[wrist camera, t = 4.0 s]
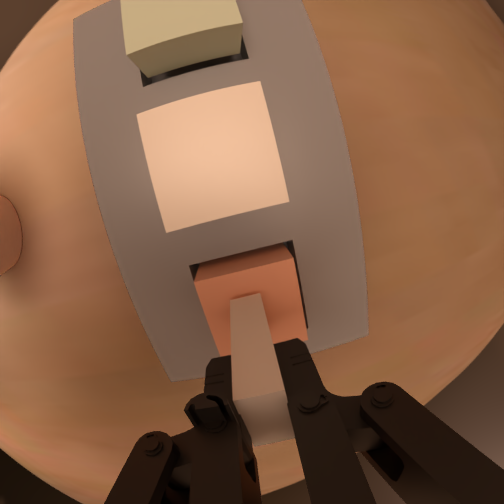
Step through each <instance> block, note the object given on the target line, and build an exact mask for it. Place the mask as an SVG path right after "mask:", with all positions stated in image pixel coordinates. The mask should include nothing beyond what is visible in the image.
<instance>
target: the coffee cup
mask: <svg viewBox="0 0 504 504" xmlns="http://www.w3.org/2000/svg"><path fill="white" fill-rule="evenodd" d="M21 249H22V231H21V225H20V221H19V217H18V215H17V212H16V210H15V208H14V206H13V205H12V203H11V202H10V201H9V200H8V199H7V198H5V197H4V196H1V195H0V276H1V275H2V274H3V273H5V272H6V271H7V270H9V269H10V268H11V267H13V266H14V265H15V264H16V263H17V261H18V259H19V257H20V254H21Z"/></svg>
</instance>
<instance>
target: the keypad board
mask: <svg viewBox="0 0 504 504" xmlns="http://www.w3.org/2000/svg"><path fill="white" fill-rule="evenodd" d="M236 3H237V6H238V9H239V12H240V15H241V18H242V21H243V27H242V38H241V49H240V54H234V55H229V56H224V57H220V58H215V59H211V60H207V61H203V62H199V63H195V64H191V65H187V66H184V67H180V68H177V69H174V70H171V71H167V72H164V73H161V74H158V75H155V76H152V77H150V78H148V77H147V76H146V75H145V74H144V73H143V72H142V71H141V70H140V69H139V68H138V67H137V66H136V65H135V64H134V63H133V62H132V60H131V59H130V58H129V57H128V56H127V55H126V50H125V42H124V34H123V25H122V14H121V2H120V0H111V1H109V2H106V3H104V4H102V5H100V6H98V7H96V8H94V9H92V10H90V11H88V12H86V13H84V14H82V15H80V16H78V17H76V18H75V19H73V45H74V67H75V80H76V90H77V99H78V107H79V115H80V121H81V128H82V134H83V139H84V145H85V150H86V155H87V160H88V164H89V169H90V173H91V177H92V181H93V186H94V189H95V193H96V197H97V201H98V205H99V208H100V212H101V215H102V218H103V222H104V225H105V228H106V232H107V235H108V238H109V241H110V244H111V247H112V250H113V253H114V256H115V258H116V261H117V264H118V267H119V269H120V272H121V275H122V277H123V280H124V283H125V285H126V288H127V290H128V293H129V295H130V298H131V300H132V302H133V305H134V307H135V309H136V312H137V314H138V316H139V319H140V321H141V323H142V325H143V327H144V330H145V332H146V334H147V336H148V338H149V340H150V342H151V344H152V346H153V348H154V350H155V352H156V354H157V356H158V358H159V360H160V362H161V364H162V366H163V368H164V370H165V372H166V374H167V375H168V377H169V379H170V381H171V382H177V381H184V380H191V379H198V378H204V377H205V373H206V367H207V365H208V363H209V362H210V360H211V359H212V358H217V357H220V354H219V351H218V349H217V346H216V344H215V341H214V338H213V336H212V333H211V330H210V327H209V325H208V322H207V319H206V316H205V314H204V311H203V308H202V305H201V302H200V299H199V296H198V293H197V291H196V288H195V285H194V280H195V277H196V274H197V271H198V268H199V264H200V263H201V262H205V261H209V260H213V259H217V258H221V257H225V256H229V255H233V254H237V253H241V252H245V251H249V250H253V249H257V248H261V247H265V246H269V245H273V244H277V243H281V242H283V243H284V245H285V246H286V248H287V249H288V251H289V252H290V253H291V255H292V256H293V258H294V263H295V268H296V273H297V278H298V284H299V289H300V295H301V300H302V306H303V312H304V318H305V323H306V329H307V336H308V340H306V341H303V342H304V343H306V345H307V348H308V350H309V353H310V354H312V353H315V352H318V351H322V350H325V349H328V348H332V347H335V346H338V345H341V344H344V343H347V342H350V341H353V340H356V339H359V338H362V337H365V336H368V335H369V332H368V300H367V282H366V269H365V257H364V247H363V238H362V229H361V221H360V214H359V207H358V200H357V194H356V188H355V182H354V176H353V171H352V166H351V161H350V156H349V151H348V146H347V142H346V137H345V133H344V128H343V124H342V120H341V116H340V112H339V108H338V105H337V101H336V97H335V94H334V90H333V87H332V83H331V80H330V77H329V73H328V70H327V67H326V64H325V61H324V58H323V55H322V52H321V49H320V46H319V43H318V40H317V38H316V35H315V32H314V30H313V27H312V24H311V22H310V19H309V17H308V14H307V12H306V10H305V7H304V5H303V2H302V0H236ZM257 81H260V82H261V86H262V89H263V93H264V97H265V101H266V104H267V108H268V112H269V116H270V120H271V124H272V128H273V132H274V136H275V140H276V144H277V148H278V153H279V157H280V161H281V165H282V170H283V174H284V179H285V183H286V188H287V192H288V197H289V202H286V203H282V204H278V205H273V206H269V207H265V208H261V209H256V210H252V211H248V212H244V213H240V214H236V215H232V216H228V217H224V218H220V219H216V220H212V221H209V222H205V223H201V224H197V225H193V226H190V227H186V228H182V229H179V230H175V231H171V232H168V233H166V230H165V227H164V224H163V220H162V217H161V213H160V210H159V206H158V203H157V199H156V195H155V192H154V188H153V184H152V180H151V176H150V173H149V169H148V164H147V160H146V156H145V152H144V148H143V143H142V139H141V134H140V130H139V125H138V120H137V115H136V114H139V113H142V112H144V111H147V110H150V109H153V108H156V107H159V106H162V105H165V104H168V103H171V102H174V101H177V100H181V99H184V98H188V97H191V96H195V95H198V94H202V93H206V92H210V91H214V90H218V89H222V88H227V87H231V86H236V85H241V84H246V83H252V82H257Z"/></svg>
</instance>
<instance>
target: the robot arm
mask: <svg viewBox="0 0 504 504" xmlns="http://www.w3.org/2000/svg"><path fill="white" fill-rule="evenodd" d="M230 329H231V355H227V356H222V357H217V358H212V359H211V360H210V362H209V363H208V365H207V367H206V373H205V386H204V393H202V394H199V395H197V396H195V397H194V398H192V399H191V400H190V401H189V402H188V403H187V404H186V407H185V409H184V411H185V413H186V415H187V416H188V418H189V419H190V421H191V422H192V424H193V426H194V427H193V428H192V429H190V430H188V431H186V432H184V433H181V434H178V435H175V436H172V437H170V436H169V435H168V434H167V433H164V432H161V431H153V432H150V433H146V434H145V435H143V436H142V437H140V439H139V440H138V441H137V442H136V444H135V446H134V448H133V450H132V451H131V453H130V455H129V457H128V459H127V461H126V463H125V465H124V467H123V468H122V470H121V472H120V474H119V476H118V478H117V480H116V482H115V484H114V486H113V488H112V489H111V491H110V493H109V495H108V497H107V499H106V501H105V503H104V504H262V499H261V491H260V484H259V476H258V468H257V460H256V457H255V455H254V453H253V448H252V443H253V445H254V447H255V446H260V445H266V444H271V443H275V442H280V441H284V440H289V439H293V438H295V439H296V443H297V447H298V451H299V455H300V459H301V463H302V467H303V471H304V475H305V479H306V484H307V488H308V491H309V495H310V500H311V503H312V504H376V502H375V499H374V497H373V494H372V492H371V489H370V487H369V484H368V482H367V479H366V477H365V474H364V472H363V470H362V467H361V465H360V462H359V460H358V457H357V455H356V453H355V452H361V453H362V455H363V456H364V457H365V458H366V459H367V460H368V462H369V463H370V464H371V465H372V466H373V467H374V468H375V470H376V471H377V472H378V473H379V474H380V475H381V476H382V477H383V479H384V480H385V481H386V482H387V483H388V484H389V485H390V486H391V488H392V489H393V490H394V491H395V492H396V493H397V494H398V495H399V496H400V497H401V498H402V499H403V501H404V502H405V503H406V504H504V470H503V469H502V468H501V467H499V466H498V465H497V464H495V463H494V462H493V461H492V460H490V459H489V458H488V457H487V456H485V455H484V454H483V453H481V452H480V451H479V450H478V449H477V448H475V447H474V446H473V445H471V444H470V443H469V442H468V441H466V440H465V439H464V438H463V437H461V436H460V435H459V434H458V433H456V432H455V431H454V430H453V429H451V428H450V427H449V426H448V425H446V424H445V423H444V422H443V421H441V420H440V419H439V418H438V417H436V416H435V415H434V414H432V413H431V412H430V411H429V410H428V409H426V408H425V407H424V406H423V405H422V404H420V403H419V402H418V401H417V400H415V399H414V398H413V397H412V396H410V395H409V394H408V393H407V392H406V391H404V390H403V389H402V388H401V387H399V386H398V385H396V384H394V383H390V382H379V383H375V384H373V385H370V386H369V387H368V388H366V389H365V390H364V391H363V393H362V395H360V396H349V397H341V396H337V395H334V394H332V393H330V392H329V391H327V390H326V389H325V387H324V385H323V383H322V381H321V378H320V376H319V374H318V371H317V369H316V366H315V364H314V362H313V360H312V357H311V355H310V353H309V350H308V348H307V345H306V343H304V342H303V341H301V340H300V339H299V338H294V339H291V340H287V341H283V342H279V343H275V344H273V341H272V337H271V334H270V330H269V326H268V322H267V318H266V314H265V310H264V306H263V302H262V298H261V294H260V293H257V294H253V295H249V296H245V297H241V298H237V299H233V300H230Z"/></svg>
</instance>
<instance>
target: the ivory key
mask: <svg viewBox="0 0 504 504" xmlns="http://www.w3.org/2000/svg"><path fill="white" fill-rule="evenodd" d="M136 115H137V120H138V125H139V130H140V134H141V139H142V143H143V148H144V152H145V156H146V160H147V164H148V169H149V173H150V176H151V180H152V184H153V188H154V192H155V195H156V199H157V203H158V206H159V210H160V213H161V217H162V220H163V224H164V227H165V230H166V233H168V232H171V231H175V230H179V229H182V228H186V227H190V226H193V225H197V224H201V223H205V222H209V221H212V220H216V219H220V218H224V217H228V216H232V215H236V214H240V213H244V212H248V211H252V210H256V209H261V208H265V207H269V206H273V205H278V204H282V203H286V202H289V197H288V192H287V188H286V183H285V179H284V174H283V170H282V165H281V161H280V157H279V153H278V148H277V144H276V140H275V136H274V132H273V128H272V124H271V120H270V116H269V112H268V108H267V104H266V101H265V97H264V93H263V89H262V86H261V82H260V81H257V82H252V83H246V84H241V85H236V86H231V87H227V88H222V89H218V90H214V91H210V92H206V93H202V94H198V95H195V96H191V97H188V98H184V99H181V100H177V101H174V102H171V103H168V104H165V105H162V106H159V107H156V108H153V109H150V110H147V111H144V112H142V113H139V114H136Z"/></svg>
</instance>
